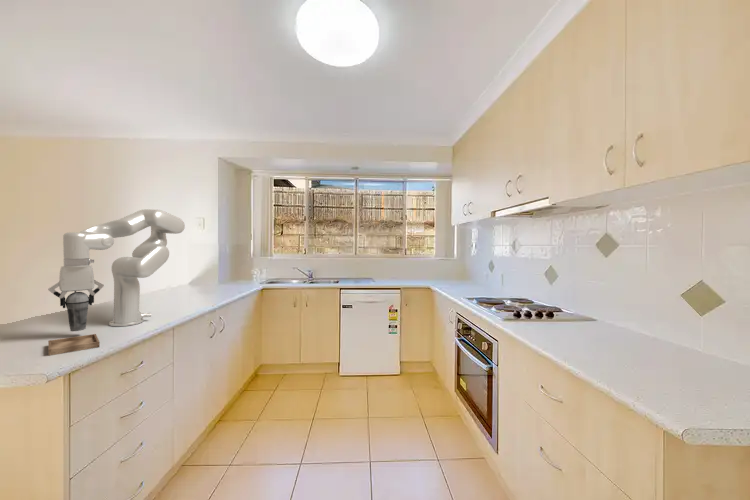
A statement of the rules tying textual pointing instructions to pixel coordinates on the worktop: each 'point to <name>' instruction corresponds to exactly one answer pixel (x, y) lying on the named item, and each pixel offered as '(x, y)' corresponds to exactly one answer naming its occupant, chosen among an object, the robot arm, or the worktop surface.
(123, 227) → the robot arm
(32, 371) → the worktop surface
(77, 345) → the tray
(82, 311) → the beverage cup
